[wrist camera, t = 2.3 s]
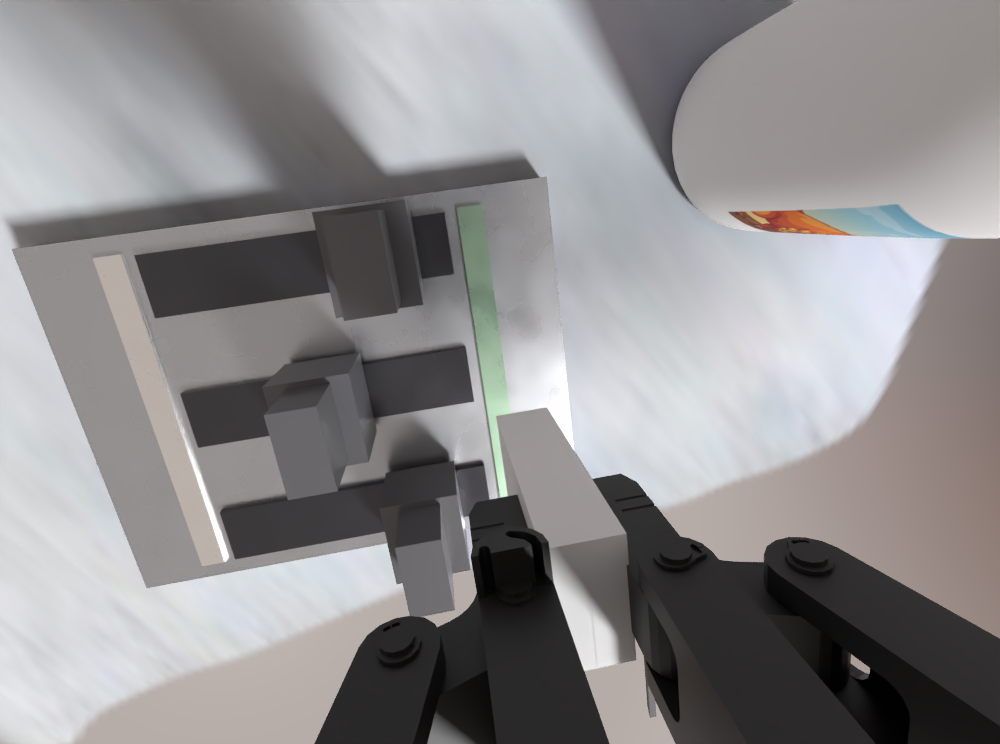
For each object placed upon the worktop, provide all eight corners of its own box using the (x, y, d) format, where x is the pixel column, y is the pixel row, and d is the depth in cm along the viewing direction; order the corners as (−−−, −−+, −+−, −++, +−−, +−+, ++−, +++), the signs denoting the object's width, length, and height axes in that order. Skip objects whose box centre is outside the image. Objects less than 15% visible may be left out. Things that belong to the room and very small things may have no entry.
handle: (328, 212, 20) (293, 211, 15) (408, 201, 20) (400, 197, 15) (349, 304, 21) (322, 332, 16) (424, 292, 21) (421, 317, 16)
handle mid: (284, 364, 21) (238, 411, 16) (359, 352, 22) (336, 395, 16) (305, 443, 22) (268, 510, 17) (376, 430, 23) (360, 494, 17)
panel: (35, 247, 20) (5, 249, 19) (540, 178, 22) (548, 175, 21) (159, 571, 25) (143, 592, 23) (573, 494, 26) (581, 510, 25)
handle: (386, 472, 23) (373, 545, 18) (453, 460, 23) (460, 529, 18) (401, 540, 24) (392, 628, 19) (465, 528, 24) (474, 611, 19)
